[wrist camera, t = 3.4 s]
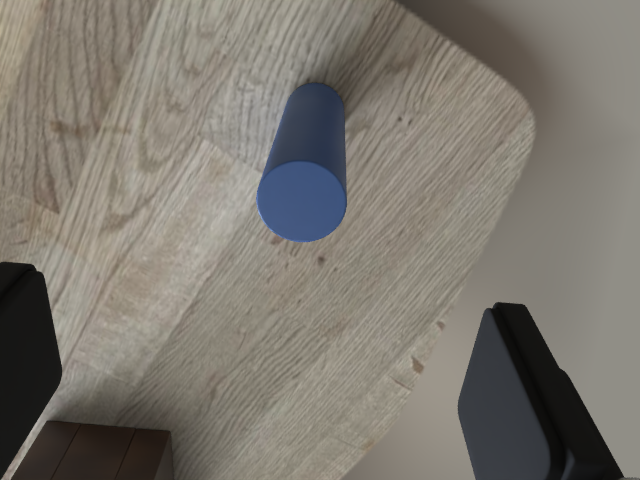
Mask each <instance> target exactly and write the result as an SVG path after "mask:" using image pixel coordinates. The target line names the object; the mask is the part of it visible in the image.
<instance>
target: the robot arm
mask: <svg viewBox="0 0 640 480" xmlns="http://www.w3.org/2000/svg"><path fill="white" fill-rule="evenodd" d="M61 377H62V365H61V360H60V355H59V350H58V345H57V340H56V335H55V329H54V324H53V319H52V314H51V309H50V304H49V298H48V293H47V288H46V283H45V278H44V275H43V274H42V272H39V271H36V268H35V267H34V265H32V264H25V263H13V262H1V263H0V480H1V478H2V477H3V475H4V474H5V472H6V470H7V469H8V467H9V465H10V464H11V462H12V461H13V459H14V457H15V456H16V454H17V453H18V451H19V449H20V448H21V446H22V444H23V443H24V441H25V440H26V438H27V436H28V435H29V433H30V431H31V430H32V428H33V427H34V425H35V423H36V422H37V420H38V418H39V417H40V415H41V414H42V412H43V410H44V409H45V407H46V405H47V404H48V402H49V401H50V399H51V397H52V396H53V394H54V393H55V391H56V389H57V388H58V386H59V384H60V381H61ZM458 415H459V419H460V423H461V427H462V430H463V434H464V438H465V442H466V445H467V449H468V452H469V456H470V460H471V463H472V467H473V471H474V475H475V478H476V480H640V479H639V478H624V476H623V474H622V472H621V470H620V468H619V467H618V465H617V463H616V461H615V459H614V458H613V456H612V454H611V452H610V450H609V449H608V447H607V445H606V443H605V441H604V440H603V438H602V436H601V434H600V432H599V430H598V429H597V427H596V425H595V424H594V422H593V420H592V418H591V416H590V414H589V412H588V410H587V409H586V407H585V405H584V404H583V401H582V400H581V398H580V396H579V394H578V392H577V390H576V389H575V387H574V385H573V383H572V382H571V380H570V378H569V377H568V375H567V374H566V372H565V371H563V370H562V369H560V368H559V366H558V365H557V363H556V361H555V359H554V357H553V355H552V353H551V352H550V350H549V348H548V346H547V344H546V343H545V341H544V339H543V337H542V335H541V333H540V331H539V329H538V328H537V326H536V324H535V322H534V320H533V318H532V316H531V315H530V313H529V311H528V309H527V307H526V306H525V305H523V304H513V303H501V302H497V303H495V304H494V306H493V308H492V309H491V308H487V309H486V310H485V311H484V314H483V317H482V320H481V324H480V328H479V331H478V334H477V338H476V341H475V344H474V348H473V351H472V355H471V358H470V362H469V365H468V369H467V372H466V376H465V379H464V383H463V386H462V389H461V393H460V396H459V400H458Z"/></svg>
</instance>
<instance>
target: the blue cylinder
mask: <svg viewBox="0 0 640 480" xmlns="http://www.w3.org/2000/svg"><path fill="white" fill-rule="evenodd" d="M256 202H257V209H258V212H259V215H260V217H261V219H262V220H263V222H264V223H265V224H266V226H267V227H268V228H269V229H270V230H271V231H272V232H274V233H275V234H277V235H278V236H280V237H282V238H285V239H287V240H291V241H295V242H311V241H315V240H318V239H321V238H323V237H325V236H327V235H329V234H330V233H331V232H333V231H334V230H335V229H336V228H337V227H338V226H339V224H340V223H341V221H342V219H343V217H344V215H345V212H346V207H347V189H346V153H345V118H344V106H343V102H342V100H341V98H340V96H339V95H338V94H337V93H336V92H335V91H334V90H333V89H332V88H330V87H329V86H327V85H324V84H321V83H308V84H305V85H302V86H300V87H299V88H297V89H296V90H295V91H294V92H293V93H292V94H291V95H290V97H289V99H288V101H287V104H286V107H285V110H284V113H283V116H282V119H281V121H280V124H279V127H278V130H277V133H276V136H275V139H274V142H273V145H272V148H271V151H270V154H269V157H268V160H267V163H266V166H265V169H264V172H263V175H262V178H261V181H260V184H259V187H258V190H257V197H256Z"/></svg>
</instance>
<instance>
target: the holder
mask: <svg viewBox="0 0 640 480" xmlns="http://www.w3.org/2000/svg"><path fill="white" fill-rule="evenodd" d="M11 480H174V473H173V458H172V444H171V432H170V431H159V430H148V429H135V428H125V427H113V426H102V425H90V424H80V423H68V422H57V421H46V423H45V425H44V426H43V428H42V429H41V431H40V433H39V434H38V436H37V438H36V439H35V441H34V442H33V444H32V446H31V447H30V449H29V451H28V452H27V454H26V455H25V457H24V459H23V460H22V462H21V464H20V465H19V467H18V468H17V470H16V472H15V473H14V475H13V476H12V478H11Z"/></svg>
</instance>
